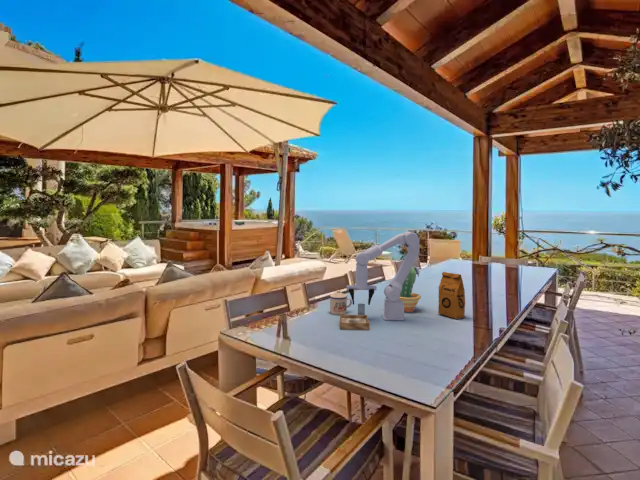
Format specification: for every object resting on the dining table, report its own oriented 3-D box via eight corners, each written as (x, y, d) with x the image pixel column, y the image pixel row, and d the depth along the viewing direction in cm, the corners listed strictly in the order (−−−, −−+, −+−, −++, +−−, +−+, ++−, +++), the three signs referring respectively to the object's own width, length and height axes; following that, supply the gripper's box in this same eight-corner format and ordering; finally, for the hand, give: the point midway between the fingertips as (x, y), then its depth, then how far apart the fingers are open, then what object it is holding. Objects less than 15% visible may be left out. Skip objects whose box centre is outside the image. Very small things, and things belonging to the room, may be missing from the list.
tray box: (367, 321, 178) (367, 315, 177) (369, 329, 165) (369, 323, 164) (339, 320, 178) (340, 314, 178) (339, 329, 165) (339, 322, 165)
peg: (364, 317, 184) (364, 303, 184) (364, 319, 181) (365, 305, 180) (357, 317, 184) (357, 303, 184) (357, 319, 181) (358, 305, 181)
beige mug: (332, 315, 187) (333, 293, 186) (327, 311, 196) (327, 289, 195) (354, 313, 191) (355, 291, 190) (348, 309, 199) (348, 288, 198)
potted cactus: (420, 314, 190) (421, 266, 188) (390, 312, 194) (390, 265, 192) (420, 307, 205) (421, 262, 203) (392, 305, 209) (393, 261, 207)
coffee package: (454, 320, 179) (456, 275, 178) (435, 314, 190) (436, 272, 188) (468, 317, 184) (469, 274, 183) (448, 311, 195) (449, 270, 193)
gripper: (375, 275, 185) (375, 302, 186) (346, 275, 186) (346, 302, 187) (377, 278, 178) (376, 306, 179) (346, 277, 178) (346, 305, 180)
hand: (361, 304), depth 182 cm, fingers open, 7 cm apart
